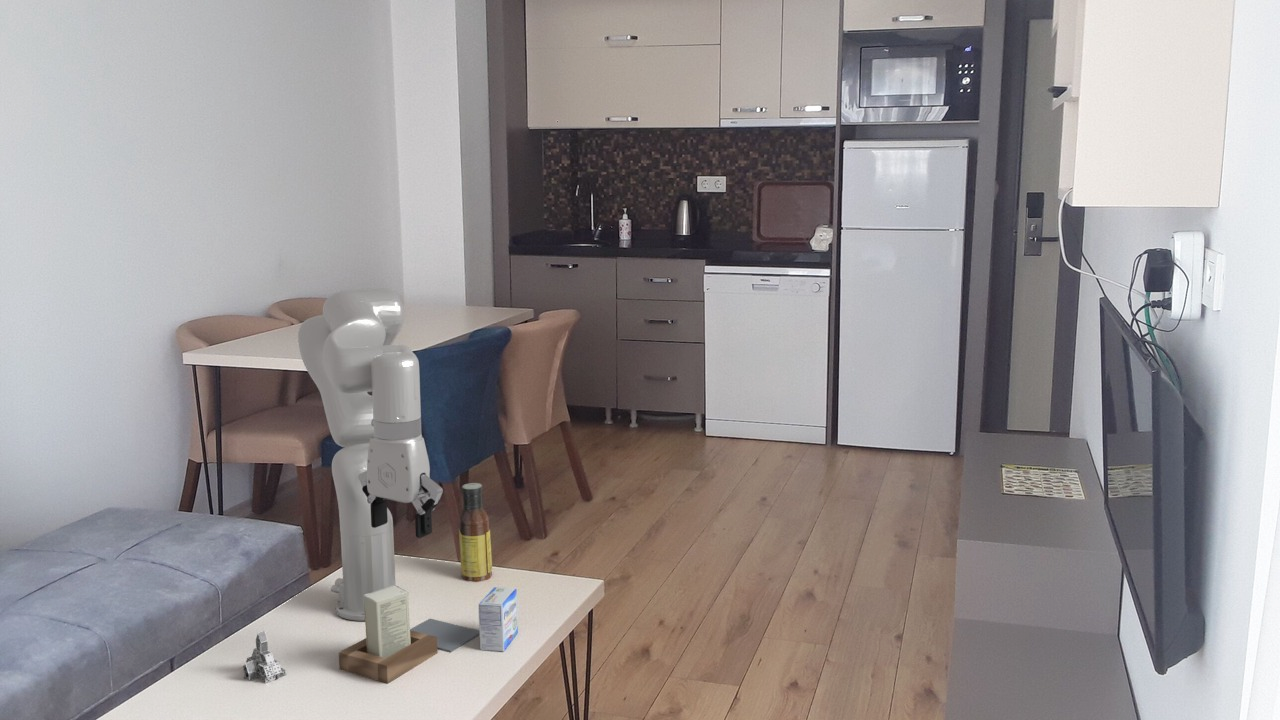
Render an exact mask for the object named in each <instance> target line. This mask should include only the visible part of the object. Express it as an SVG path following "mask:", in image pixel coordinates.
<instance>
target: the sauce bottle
mask: <svg viewBox="0 0 1280 720" xmlns="http://www.w3.org/2000/svg"><path fill="white" fill-rule="evenodd" d="M482 493H483V485H482V484H481V483H478V482H471V483H465V484H463V485H462V486H461V494H462V499H463V500H462V501H463V505H462V511H461V514H460V520H459V523H458V535H459V536H458V538H459V539H458V540H459V558H460V571H461V577H462V579H463V580H464V581H465V582H471V583H472V582H473V583H479V582H484V581H487V580H488V581H489V580H490V579H491V578H492V576H493V572H492V571H493V557H492V544H491V543H492V540H491V539H492V538H491V528H490V517H489V515H488V513H487V511H486V510H485V509H484V507H483V505H484V503H483V497H482Z"/></svg>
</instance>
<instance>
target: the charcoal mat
mask: <svg viewBox="0 0 1280 720" xmlns="http://www.w3.org/2000/svg"><path fill="white" fill-rule="evenodd" d="M410 630H411V631H415V632H419V633H423V634H427V635H431V636H435V637H437V650H438V651H439V650H440V651H444V652H447V653H453V652H454V651H456V650H457V649H459V648H460V647H462V646H464V645H465V644H467V643H469V642H470V641H471V640H473V639H475V638H477V637H478V636H480V632H479V629H475V628H470V627H467V626H463V625H458V624H454V623H452V622H451V623H450V622H446V621H443V620H439V619H435V618H428V619H426V620H425V621H422V622H421V623H419V624H417V625H415V626H413V627H412V628H410Z"/></svg>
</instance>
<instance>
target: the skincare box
mask: <svg viewBox="0 0 1280 720" xmlns="http://www.w3.org/2000/svg"><path fill="white" fill-rule="evenodd" d="M364 608H365V621H364V622H365V624H364V625H365V638H366V643H367V653H368V654H372V655H375V656H379V657H383V658H388V657H389V656H391V655H393V654H395V653H396V652H398V651H400V650H402V649H403V648H405V647H407V646H409V645H410V644H411V639H410V629H411V623H410V622H411V621H410V601H409V591H407V590H405V589H403V588H401V587H400V586H397V585H394V586H391V587H388V588H385V589H381V590H378V591H375V592H372V593H369V594H366V595H364Z"/></svg>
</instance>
